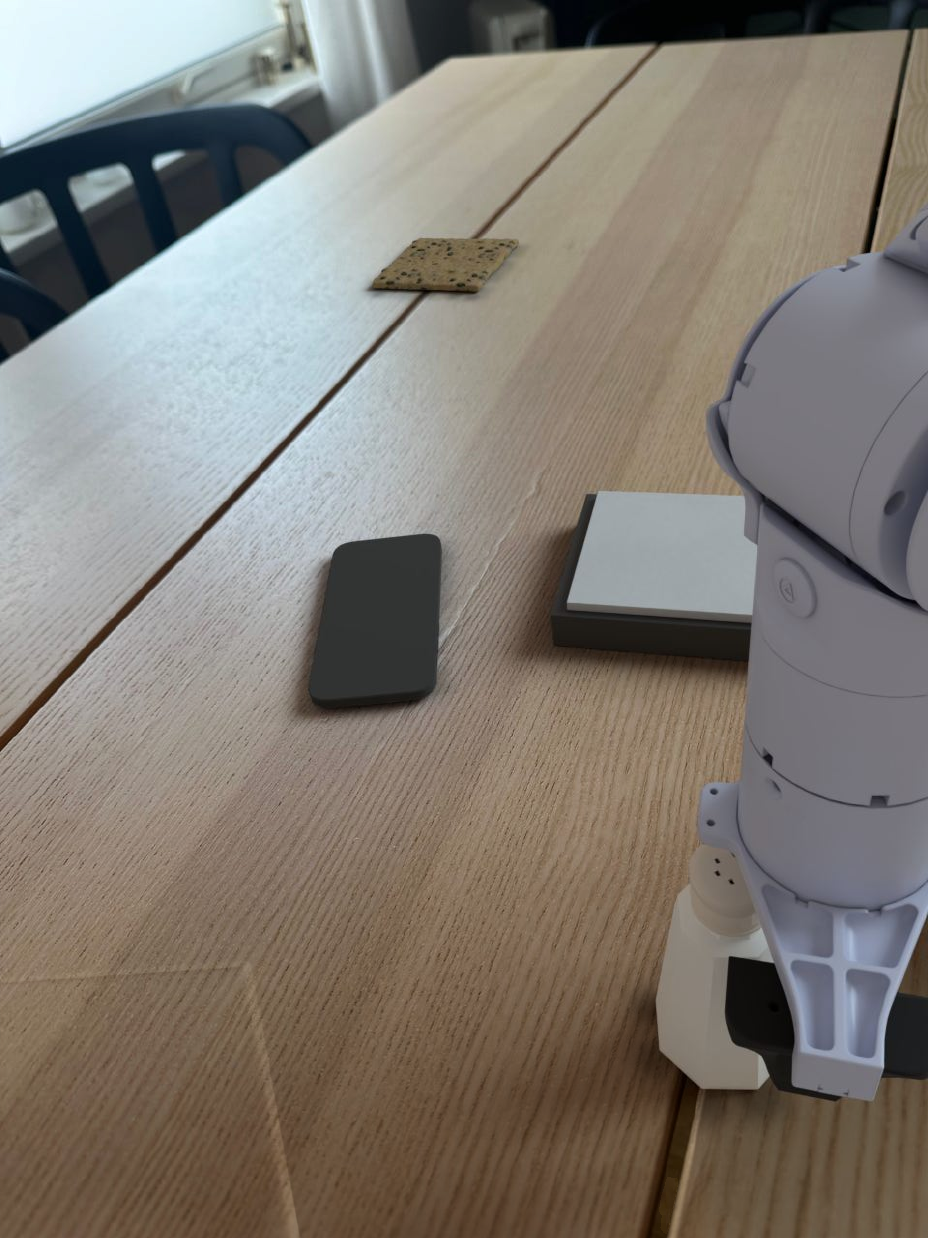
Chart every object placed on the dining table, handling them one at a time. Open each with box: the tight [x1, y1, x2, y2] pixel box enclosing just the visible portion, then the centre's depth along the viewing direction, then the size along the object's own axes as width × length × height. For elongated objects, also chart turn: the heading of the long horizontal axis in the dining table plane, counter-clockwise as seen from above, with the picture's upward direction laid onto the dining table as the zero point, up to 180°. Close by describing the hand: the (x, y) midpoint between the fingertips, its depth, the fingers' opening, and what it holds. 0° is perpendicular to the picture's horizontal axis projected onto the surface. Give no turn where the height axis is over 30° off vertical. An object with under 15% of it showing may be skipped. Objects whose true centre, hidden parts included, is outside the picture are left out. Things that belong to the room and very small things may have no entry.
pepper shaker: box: [655, 843, 774, 1091], centre depth 36 cm, size 5×5×11 cm
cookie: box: [372, 237, 520, 292], centre depth 101 cm, size 12×12×1 cm
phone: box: [308, 533, 443, 709], centre depth 61 cm, size 7×1×15 cm
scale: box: [549, 490, 757, 662], centre depth 58 cm, size 14×12×3 cm
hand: (808, 978), depth 35 cm, fingers open, 7 cm apart
